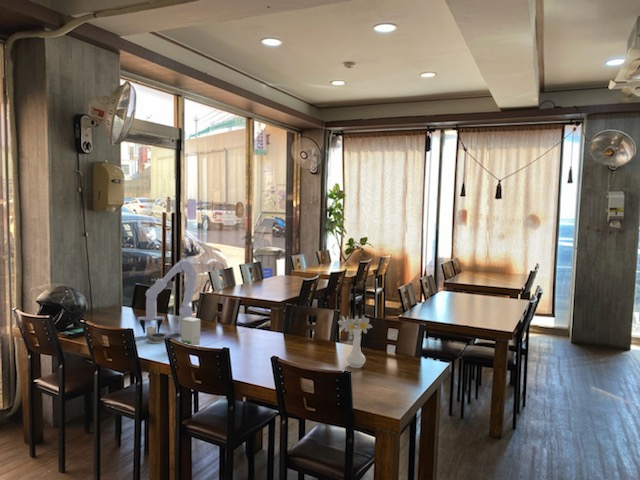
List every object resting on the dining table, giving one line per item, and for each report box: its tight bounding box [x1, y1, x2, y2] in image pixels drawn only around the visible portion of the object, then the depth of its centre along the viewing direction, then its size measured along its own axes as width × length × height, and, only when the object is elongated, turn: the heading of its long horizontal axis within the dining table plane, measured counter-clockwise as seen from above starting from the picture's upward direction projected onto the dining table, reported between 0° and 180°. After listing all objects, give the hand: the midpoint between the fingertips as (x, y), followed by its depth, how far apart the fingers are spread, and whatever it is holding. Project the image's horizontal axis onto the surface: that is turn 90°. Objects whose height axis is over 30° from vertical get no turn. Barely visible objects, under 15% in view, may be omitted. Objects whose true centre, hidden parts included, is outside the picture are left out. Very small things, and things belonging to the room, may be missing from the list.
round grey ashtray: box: [147, 332, 169, 344], centre depth 273 cm, size 11×11×3 cm
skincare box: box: [180, 316, 201, 347], centre depth 262 cm, size 8×7×16 cm
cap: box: [146, 325, 157, 338], centre depth 283 cm, size 5×5×5 cm
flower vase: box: [337, 315, 373, 369], centre depth 237 cm, size 13×18×25 cm
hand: (151, 332), depth 283 cm, fingers open, 7 cm apart
